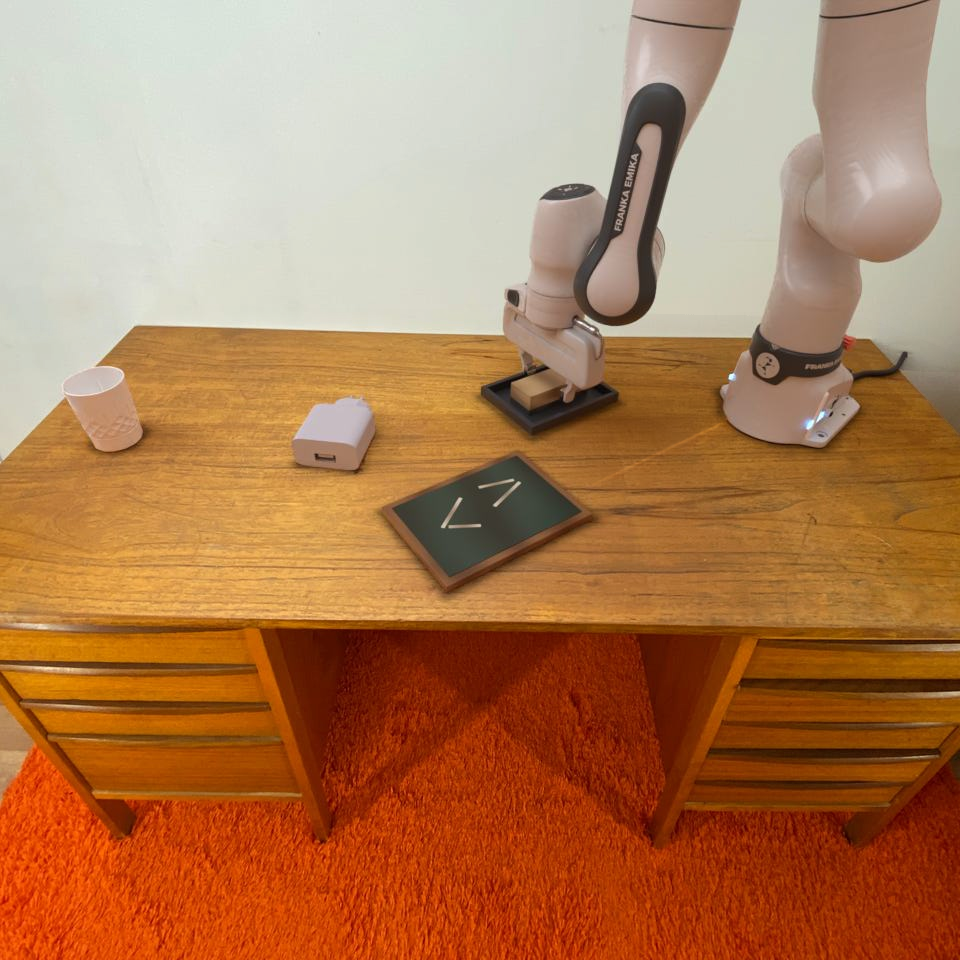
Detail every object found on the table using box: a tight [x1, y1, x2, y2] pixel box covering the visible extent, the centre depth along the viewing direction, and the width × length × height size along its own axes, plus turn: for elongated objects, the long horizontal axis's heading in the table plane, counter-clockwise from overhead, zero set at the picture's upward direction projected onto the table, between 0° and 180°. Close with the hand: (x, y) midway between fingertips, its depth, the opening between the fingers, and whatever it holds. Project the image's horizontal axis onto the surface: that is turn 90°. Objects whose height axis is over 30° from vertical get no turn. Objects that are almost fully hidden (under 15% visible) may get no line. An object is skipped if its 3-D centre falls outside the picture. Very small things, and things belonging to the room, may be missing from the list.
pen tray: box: [480, 364, 620, 436], centre depth 103 cm, size 18×14×2 cm
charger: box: [290, 394, 377, 471], centre depth 94 cm, size 5×9×15 cm
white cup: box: [60, 365, 144, 453], centre depth 91 cm, size 8×8×10 cm
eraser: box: [510, 369, 588, 416], centre depth 102 cm, size 12×5×4 cm, turn 124°
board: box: [381, 450, 594, 593], centre depth 82 cm, size 22×16×1 cm
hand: (546, 386), depth 101 cm, fingers open, 8 cm apart
